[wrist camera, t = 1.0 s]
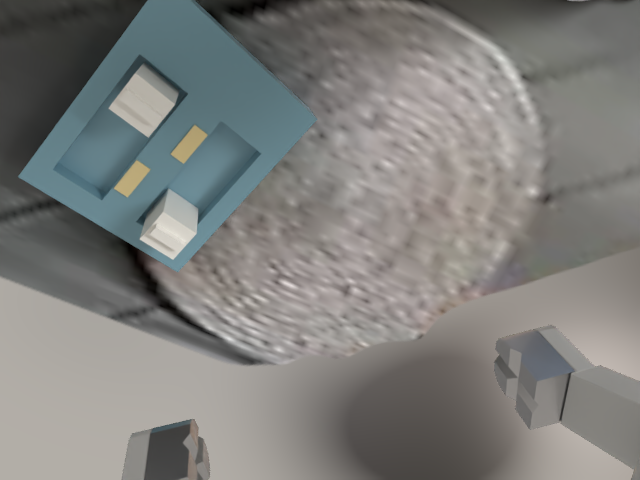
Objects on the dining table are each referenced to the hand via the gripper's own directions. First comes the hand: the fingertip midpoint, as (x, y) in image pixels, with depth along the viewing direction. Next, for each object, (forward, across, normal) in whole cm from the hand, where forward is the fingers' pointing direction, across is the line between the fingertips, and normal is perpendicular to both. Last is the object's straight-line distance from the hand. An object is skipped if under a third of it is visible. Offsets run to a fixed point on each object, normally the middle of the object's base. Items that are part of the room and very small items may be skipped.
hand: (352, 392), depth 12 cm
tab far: (+29, +9, +7) cm, 31 cm away
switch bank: (+31, +7, +1) cm, 32 cm away
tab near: (+29, +8, -3) cm, 30 cm away
